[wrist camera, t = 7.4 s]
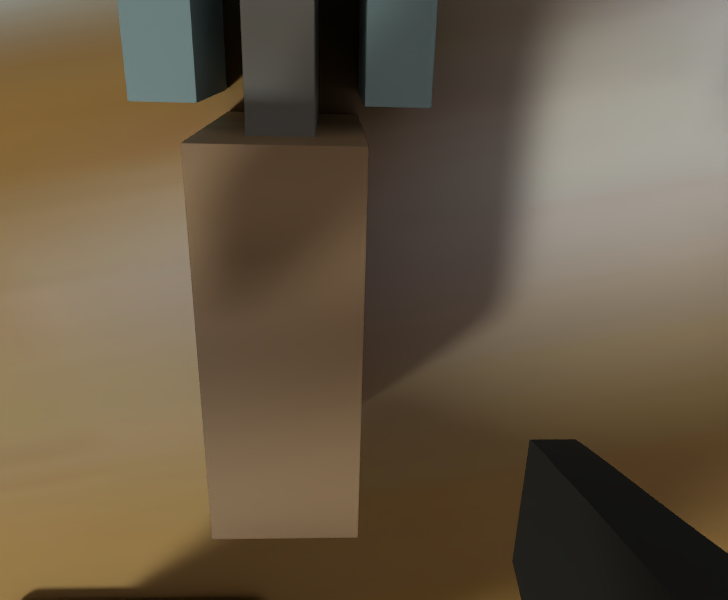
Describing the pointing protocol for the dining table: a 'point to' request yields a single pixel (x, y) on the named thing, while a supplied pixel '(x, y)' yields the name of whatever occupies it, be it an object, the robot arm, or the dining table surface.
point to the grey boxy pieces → (207, 51)
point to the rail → (279, 289)
